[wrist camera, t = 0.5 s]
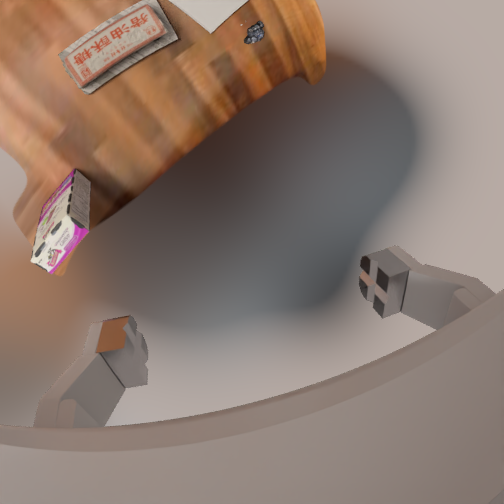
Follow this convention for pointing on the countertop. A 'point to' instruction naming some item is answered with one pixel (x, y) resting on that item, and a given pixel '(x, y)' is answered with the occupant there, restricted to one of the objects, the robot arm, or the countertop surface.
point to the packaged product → (117, 44)
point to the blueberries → (254, 33)
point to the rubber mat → (209, 11)
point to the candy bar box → (62, 222)
